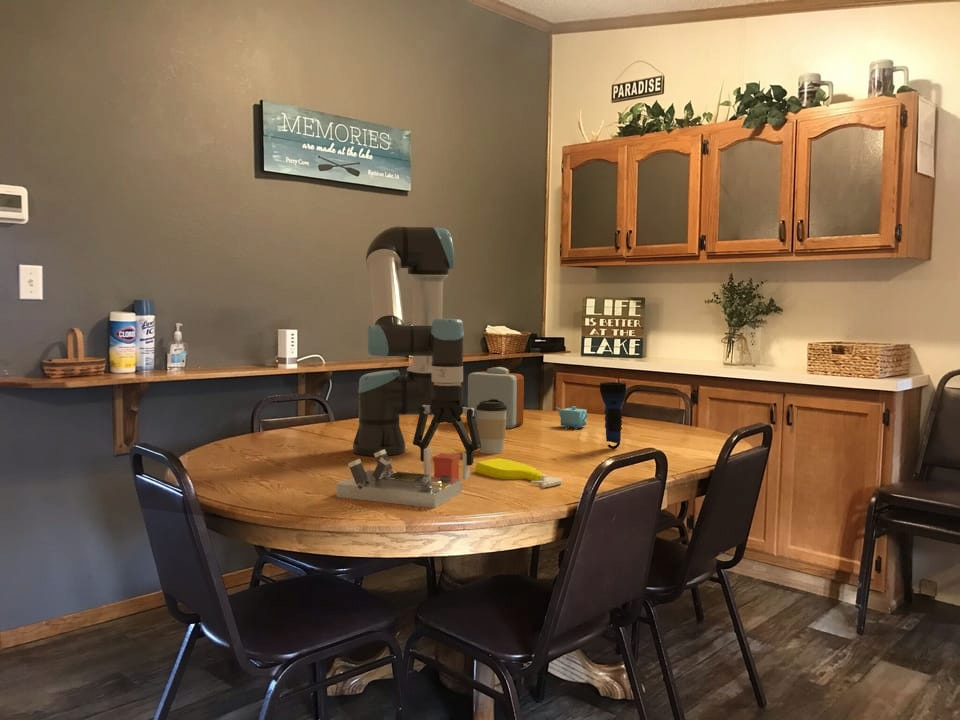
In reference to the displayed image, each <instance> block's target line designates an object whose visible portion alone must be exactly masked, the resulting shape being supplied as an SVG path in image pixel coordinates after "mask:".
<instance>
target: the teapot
mask: <svg viewBox="0 0 960 720" xmlns="http://www.w3.org/2000/svg"><path fill="white" fill-rule="evenodd" d="M556 410H557V411H558V413H559V417H560V426H562V427H564V429H569V428H573V429H574V430H579V428H580V429H582V428H583V427H584V426H586V425H587V418H588V413H587V412H588V410H587V409H584V408H577V406H571V407H567V408H562V409H561V408H560V407H556Z"/></svg>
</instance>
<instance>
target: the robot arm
mask: <svg viewBox="0 0 960 720" xmlns="http://www.w3.org/2000/svg"><path fill="white" fill-rule="evenodd" d="M365 266H366V269H367V271H368V272H369V274H370V285H371V286H370V287H371V288H370V289H371V300H372V313H373V314H372V316H373V325H369V326H368V327H367V329H366V350H367V353H368V354H369V355H370V356H374V357H376V356H377V357H378V356H379V357H385V358H386V357H404V356H405V357H406V356H407V357H410V356H411V357H412V361H411V363H410V365H409V366H408V367H407V368H406V374H403V375H401V373H400V371H399V369H393V370H391V369H390V370H388V369H387V370H380V371H373V372H369V373H365V374H364V375H362V376H360V378H359V383H358V391H357V392H358V426H357V427H358V428H357V430H356V434H355V437H354V440H353V443H352V452H353V454H356V455H360V456H369V457H375V456H374V453H376V452H379V451H381V450H384V449H385V451H386V454H387V456H394V455H395V456H396V455H400V454H402V453H405V451H406V442H405V438H404V436H403V432H402V429H401V425H400V416H409V415H410V416H416V415H418V420H417V424H416V427H415V428H416V429H415V432H414V436H413V440H412V444H413V446H416V447H419V449H420V456H419V457H420V458H419V460H420V461H421V462H423V474H427V475H432V446H431V447H429V446H430V445H429V444H430V443H431V441H432V439H433V437H434V435H435V433H436V432H437V429H438V427H439V425H441V423H442V424H443V423H446V424H452V425H453V427H454V429H455V430H456V432H457V435H458V437H459V439H460V441H461V444H462V445H463V447H464V450H465V451H463V452H462V480H463V481H466V480H468V479H470V478H471V477H470V476H471V469H470V468H471V466H472V465H473V464H474V452H475V451H478V450H480V448H481V442H480V438H479V433H478V425H477V424H476V420H475V412H476V409H475V408H468V407H466V406H464V403H463V401H464V400H463V399H464V385H462V383H463V382H464V336H465V332H464V322H463V320H461V318H443V307H444V306H443V305H444V303H443V302H444V300H443V299H444V292H443V291H444V282H445V280H446V279H447V278H448V277H449V270H450V271H451V270H453V269H454V267H455V250H454V243H453V239H452V235H451V232H450V231H449V230H448V228H447V229H446V228H444V227H434V226H431V227H430V226H429V227H428V226H427V227H426V226H398V225H397V226H393V227H392V226H391V227H388V228H386V229H384V230H382V231H381V232H380V233H378V234H377V235H376V236H375V237H374V239H373V240H372V241H371V242H370V244H369V246H368V248H367V250H366V254H365ZM401 269H407V276H409V278H410V279H411V280H412V283H413V284H412V325H405V320H404V311H403V301H402V293H401V283H400V276H399V275H400V274H399V271H400V270H401ZM463 414H464V416H465V417H466V423H467V427H468V431H467V429H466V427H465V426H464V421H463V419H462V417H461V416H462V415H463ZM429 416H433V418H432V419H431V422H430V425H429V427H428V429H427V431H426V425H427V421H428V417H429ZM425 431H426V432H425ZM468 432H469V433H468Z"/></svg>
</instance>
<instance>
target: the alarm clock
mask: <svg viewBox="0 0 960 720" xmlns="http://www.w3.org/2000/svg"><path fill="white" fill-rule="evenodd" d="M524 385H525V377H524V376H523V375H522V374H520V373H512V372H511V373H510V369H508V368H507V367H502V366H497V367H496V366H495V367H490V368H487V370H486V371H476V372H471V373H469V374H468V376H467V408H475V409H476V412H475V420H476V424H477V417H478V416H477V405H479V404H480V402H481V401H488V400H490V399H497V400H499V401H502V402H504V405H506V406H507V411H506V429H513V428H516V427H519V426H522V425H523V423H524V397H525V391H524V390H525V388H524V387H525V386H524ZM477 426H478V424H477Z"/></svg>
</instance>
